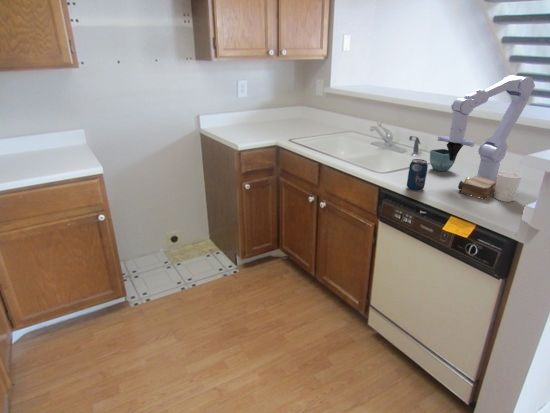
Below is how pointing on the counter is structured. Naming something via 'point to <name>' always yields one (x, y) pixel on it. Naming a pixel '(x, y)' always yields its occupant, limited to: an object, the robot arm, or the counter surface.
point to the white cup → (507, 185)
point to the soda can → (417, 174)
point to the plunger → (460, 185)
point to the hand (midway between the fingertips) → (452, 160)
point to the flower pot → (440, 159)
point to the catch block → (479, 187)
